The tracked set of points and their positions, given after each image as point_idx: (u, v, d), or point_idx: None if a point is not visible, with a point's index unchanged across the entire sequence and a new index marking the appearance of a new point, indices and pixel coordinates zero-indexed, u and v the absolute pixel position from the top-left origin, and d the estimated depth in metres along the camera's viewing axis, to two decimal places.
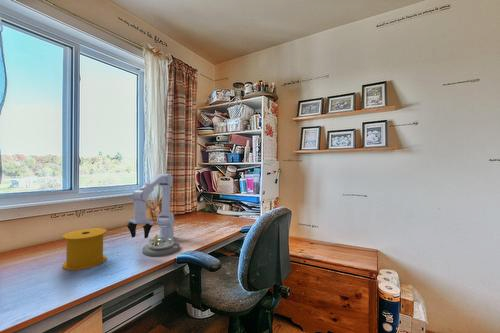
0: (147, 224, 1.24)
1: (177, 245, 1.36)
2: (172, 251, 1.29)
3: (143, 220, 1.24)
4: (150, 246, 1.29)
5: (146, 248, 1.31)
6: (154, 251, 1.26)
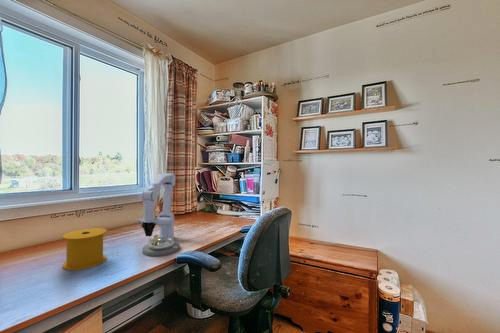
0: (151, 223, 1.29)
1: (177, 245, 1.36)
2: (172, 251, 1.29)
3: (152, 219, 1.28)
4: (150, 246, 1.29)
5: (146, 248, 1.31)
6: (154, 251, 1.26)
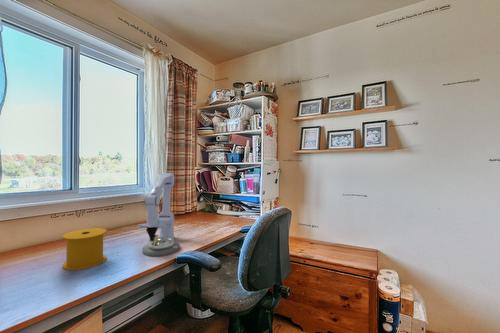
0: (154, 227, 1.28)
1: (177, 245, 1.36)
2: (172, 251, 1.29)
3: (156, 224, 1.28)
4: (150, 246, 1.29)
5: (146, 248, 1.31)
6: (154, 251, 1.26)
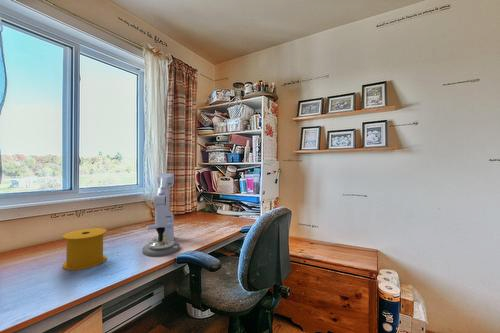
0: (162, 227, 1.29)
1: (177, 245, 1.36)
2: (172, 251, 1.29)
3: (166, 223, 1.30)
4: (158, 247, 1.27)
5: (146, 248, 1.31)
6: (154, 251, 1.26)
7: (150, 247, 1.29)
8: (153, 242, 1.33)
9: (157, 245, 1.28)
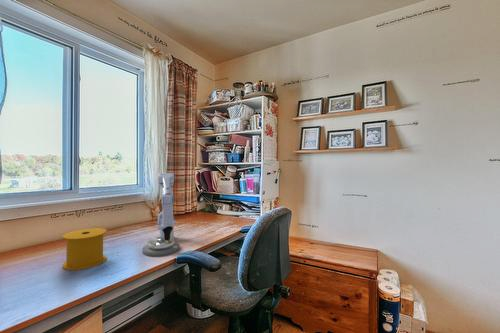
0: (169, 226, 1.31)
1: (177, 245, 1.36)
2: (172, 251, 1.29)
3: None
4: (166, 246, 1.29)
5: (146, 248, 1.31)
6: (154, 251, 1.26)
7: (157, 248, 1.27)
8: None
9: (165, 244, 1.29)
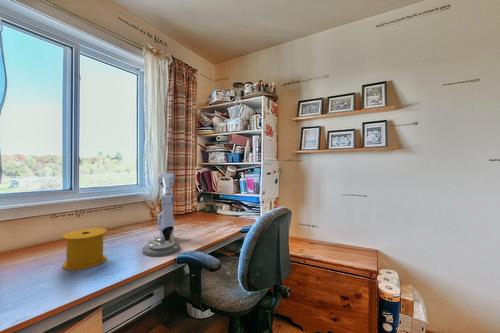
0: (170, 226, 1.31)
1: (177, 245, 1.36)
2: (172, 251, 1.29)
3: None
4: (168, 245, 1.30)
5: (146, 248, 1.31)
6: (154, 251, 1.26)
7: (159, 248, 1.28)
8: None
9: (168, 244, 1.30)
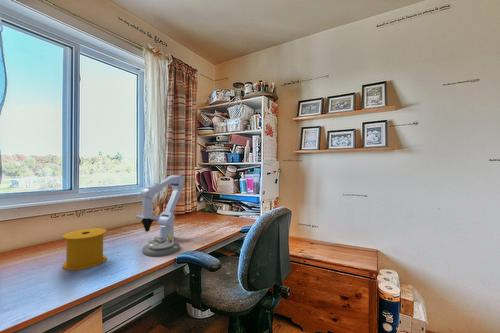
0: (148, 219, 1.38)
1: (177, 245, 1.36)
2: (172, 251, 1.29)
3: (150, 215, 1.38)
4: (168, 245, 1.30)
5: (146, 248, 1.31)
6: (154, 251, 1.26)
7: (159, 248, 1.28)
8: None
9: (168, 244, 1.30)
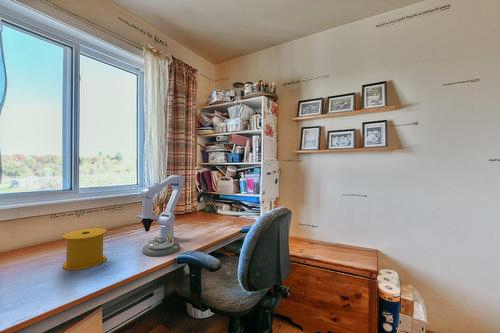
0: (148, 219, 1.38)
1: (177, 245, 1.36)
2: (172, 251, 1.29)
3: (150, 215, 1.38)
4: (168, 245, 1.30)
5: (146, 248, 1.31)
6: (154, 251, 1.26)
7: (159, 248, 1.28)
8: None
9: (168, 244, 1.30)
